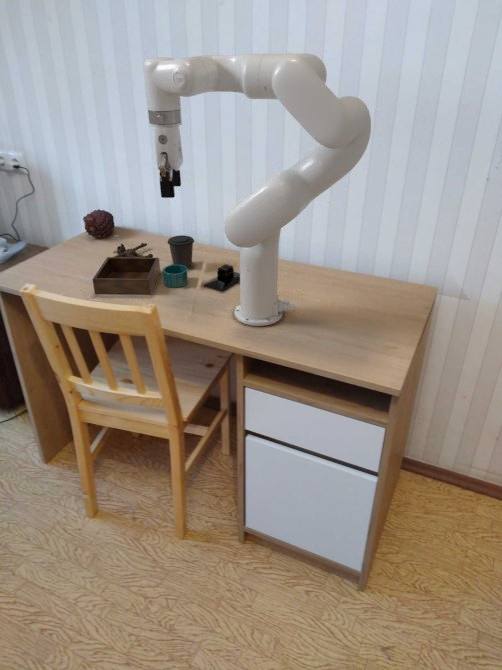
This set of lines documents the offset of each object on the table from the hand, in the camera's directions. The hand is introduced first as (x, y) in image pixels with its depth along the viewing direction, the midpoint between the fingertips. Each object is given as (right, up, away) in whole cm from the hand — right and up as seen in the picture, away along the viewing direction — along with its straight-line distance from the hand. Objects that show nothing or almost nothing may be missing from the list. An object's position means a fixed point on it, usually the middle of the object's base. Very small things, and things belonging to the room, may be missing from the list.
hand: (171, 191), depth 132 cm
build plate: (+12, -20, +25) cm, 34 cm away
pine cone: (-33, 0, +58) cm, 67 cm away
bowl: (-2, -21, +23) cm, 31 cm away
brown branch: (-18, -11, +40) cm, 45 cm away
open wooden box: (-16, -21, +23) cm, 35 cm away
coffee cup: (-1, -15, +33) cm, 37 cm away
